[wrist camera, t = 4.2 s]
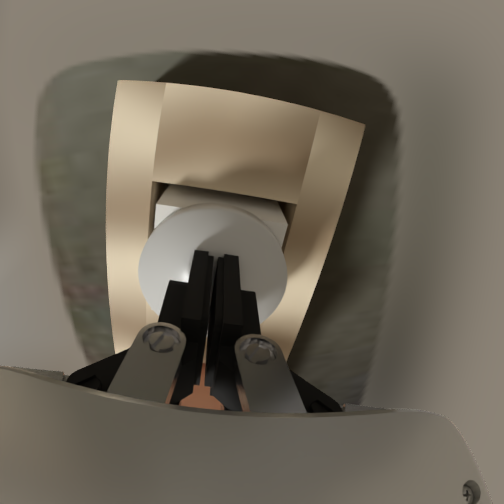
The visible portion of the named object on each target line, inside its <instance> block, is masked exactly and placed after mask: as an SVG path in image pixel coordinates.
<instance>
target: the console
mask: <svg viewBox="0 0 504 504" xmlns="http://www.w3.org/2000/svg"><path fill="white" fill-rule="evenodd" d="M364 129H365V124H362V123H359V122H356V121H353V120H350V119H347V118H343V117H340V116H337V115H334V114H330V113H327V112H323V111H320V110H316V109H312V108H309V107H305V106H301V105H297V104H293V103H289V102H284V101H280V100H276V99H271V98H266V97H261V96H257V95H251V94H246V93H241V92H235V91H229V90H222V89H216V88H209V87H201V86H193V85H184V84H175V83H163V82H149V81H129V80H118V83H117V89H116V96H115V102H114V110H113V117H112V126H111V135H110V145H109V157H108V172H107V194H106V253H107V275H108V290H109V303H110V313H111V323H112V331H113V339H114V346H115V353H116V354H117V353H119V352H121V351H124V350H126V349H128V348H130V347H131V345H132V343H133V341H134V339H135V338H136V336H137V334H138V332H139V331H140V330H141V329H142V328H143V327H144V326H146V325H148V324H151V323H155V322H158V318H159V316H158V315H157V314H156V313H155V312H154V311H153V310H151V307H150V305H149V304H148V303H147V301H146V299H145V297H144V295H143V293H142V290H141V287H140V283H139V277H138V266H139V260H140V256H141V253H142V250H143V248H144V246H145V244H146V242H147V240H148V238H149V237H150V235H151V233H152V232H153V230H154V224H155V211H156V203H157V202H158V200H159V199H160V198H161V196H162V195H163V193H164V192H165V190H166V189H167V187H168V186H169V185H170V183H171V184H178V185H185V186H192V187H199V188H205V189H212V190H218V191H225V192H231V193H237V194H243V195H249V196H255V197H260V198H266V199H272V200H277V202H278V204H279V206H280V208H281V210H282V213H283V215H284V217H285V219H286V222H287V224H288V226H287V229H286V233H285V237H284V241H283V244H282V248H281V249H282V252H283V255H284V258H285V262H286V266H287V285H286V290H285V293H284V296H283V298H282V300H281V302H280V304H279V305H278V307H277V308H276V310H275V311H274V312H273V313H272V314H271V315H270V316H269V317H268V318H267V319H266V320H265V321H263V322H262V323H261V324H260V329H261V335H263V336H266V337H268V338H270V339H272V340H274V341H275V342H276V343H277V344H278V345H279V347H280V348H281V350H282V352H283V355H284V357H285V360H286V361H287V359H288V356H289V354H290V351H291V349H292V347H293V344H294V342H295V339H296V337H297V334H298V332H299V329H300V326H301V324H302V321H303V319H304V316H305V314H306V311H307V308H308V306H309V303H310V300H311V298H312V295H313V292H314V289H315V287H316V284H317V281H318V278H319V276H320V273H321V270H322V267H323V264H324V261H325V258H326V256H327V253H328V250H329V247H330V244H331V241H332V238H333V235H334V232H335V229H336V226H337V222H338V219H339V216H340V213H341V210H342V207H343V203H344V200H345V197H346V193H347V190H348V187H349V183H350V180H351V177H352V173H353V170H354V166H355V163H356V159H357V155H358V152H359V148H360V144H361V141H362V137H363V133H364ZM206 347H207V337H206V344H205V350H204V357H203V363H206Z"/></svg>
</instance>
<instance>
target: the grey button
mask: <svg viewBox="0 0 504 504" xmlns="http://www.w3.org/2000/svg"><path fill="white" fill-rule="evenodd" d="M287 226H288V224H287V222H286V219H285V217H284V215H283V213H282V210H281V208H280V206H279V204H278V202H277V200H272V199H266V198H260V197H255V196H249V195H243V194H237V193H231V192H225V191H218V190H212V189H205V188H199V187H192V186H185V185H178V184H171V183H170V185H169V186H168V187H167V189H166V190H165V192H164V193H163V195H162V196H161V198H160V199H159V200H158V202H157V203H156V211H155V224H154V230H153V232H152V233H151V235H150V237H149V238H148V240H147V242H146V244H145V246H144V248H143V250H142V253H141V256H140V260H139V266H138V277H139V283H140V287H141V290H142V293H143V295H144V297H145V299H146V301H147V303H148V304H149V305H150V307H151V310H153V311H154V312H155V313H156V314H157V315H158V316H159V315H160V311H161V307H162V304H163V300H164V297H165V293H166V290H167V286H168V283H169V280H175V281H181V282H188V280H189V275H190V270H191V265H192V260H193V255H194V251H195V250H201V251H208V252H209V254H208V255H209V256H214V261H213V273H212V285H211V298H212V291H213V285H214V279H215V273H216V267H217V261H218V257H223V258H224V254H228V255H235V256H239V269H240V284H241V290H246V291H254V292H255V293H256V299H257V307H258V314H259V321H260V324H261V323H262V322H263V321H265V320H266V319H267V318H268V317H269V316H270V315H271V314H272V313H273V312H274V311H275V310H276V308H277V307H278V305H279V304H280V302H281V300H282V298H283V296H284V293H285V290H286V285H287V266H286V262H285V258H284V255H283V252H282V249H281V248H282V244H283V241H284V237H285V233H286V229H287ZM211 298H210V304H211ZM207 331H208V330H207Z"/></svg>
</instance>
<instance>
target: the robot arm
mask: <svg viewBox="0 0 504 504" xmlns="http://www.w3.org/2000/svg"><path fill="white" fill-rule="evenodd" d="M208 254H209V252H208V251H201V250H195V251H194V255H193V260H192V265H191V270H190V275H189V280H188V282H181V281H175V280H169V283H168V286H167V290H166V293H165V297H164V300H163V304H162V307H161V311H160V315H159V318H158V322H155V323H151V324H148V325H146V326H144V327H143V328H142V329H141V330H140V331H139V332H138V334H137V336H136V338H135V339H134V341H133V343H132V345H131V347H130V348H128V349H126V350H124V351H121V352H119V353H117V354H115V355H112V356H110V357H108V358H105V359H103V360H101V361H98V362H96V363H94V364H91V365H89V366H86V367H84V368H82V369H79V370H77V371H75V372H74V373H72V374H71V375H70V376H67V375H64V372H59V371H48V370H37V369H29V368H20V367H9V366H1V365H0V504H493V503H492V500H491V497H490V494H489V491H488V489H487V486H486V483H485V481H484V478H483V476H482V473H481V471H480V469H479V466H478V465H477V462H476V460H475V458H474V456H473V453H472V452H471V450H470V448H469V446H468V444H467V443H466V441H465V439H464V437H463V436H462V434H461V432H460V431H459V429H458V428H457V427H456V426H455V424H454V423H453V422H451V421H450V420H449V419H448V418H446V417H444V416H442V415H439V414H436V413H433V412H428V411H424V410H414V409H384V408H375V407H367V406H360V405H352V404H346V403H345V404H344V406H340V405H339V404H338V403H337V402H336V401H335V400H333V399H332V398H331V397H329V396H328V395H326V394H325V393H323V392H322V391H320V390H319V389H317V388H316V387H314V386H313V385H311V384H310V383H308V382H307V381H305V380H304V379H302V378H301V377H299V376H298V375H297V374H295V373H294V372H292V371H291V370H289V367H288V365H287V362H286V360H285V357H284V355H283V352H282V350H281V348H280V347H279V345H278V344H277V343H276V342H275V341H274V340H272V339H270V338H268V337H266V336H263V335H261V329H260V321H259V314H258V307H257V299H256V293H255V292H254V291H246V290H241V284H240V269H239V256H235V255H228V254H224V258H223V257H218V261H217V267H216V273H215V279H214V285H213V291H212V298H211V285H212V273H213V261H214V256H209V255H208ZM210 298H211V304H210ZM207 330H208V331H207ZM206 337H207V347H206V364H205V382H204V386H207V387H210V396H214V397H215V398H216V399H217V400H218V401H219V402H220V403H221V405H220V410H214V409H204V408H195V407H187V406H181V403H182V399H184V398H186V397H187V396H189V395H190V394H192V393H193V387H194V385H200V379H201V371H202V364H203V357H204V350H205V344H206Z"/></svg>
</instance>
